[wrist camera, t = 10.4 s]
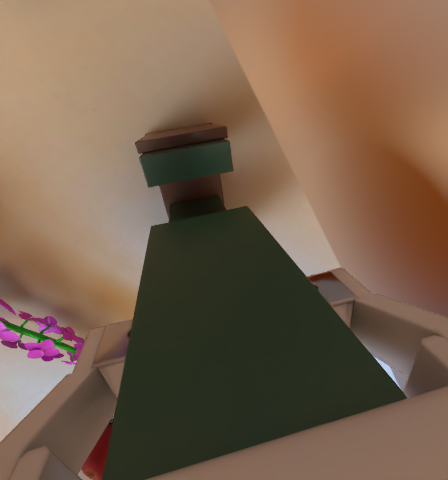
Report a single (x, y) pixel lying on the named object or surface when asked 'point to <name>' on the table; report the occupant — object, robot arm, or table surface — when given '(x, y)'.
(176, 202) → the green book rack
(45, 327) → the potted plant
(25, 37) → the table surface
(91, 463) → the apple
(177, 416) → the green book
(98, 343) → the robot arm
